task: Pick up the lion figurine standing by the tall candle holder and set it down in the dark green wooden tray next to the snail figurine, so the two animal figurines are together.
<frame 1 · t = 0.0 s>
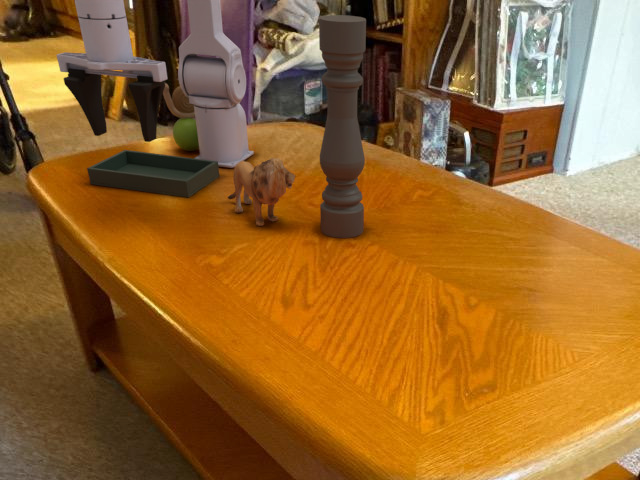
hand: (125, 137, 93), 10 cm above the table, tool pointing down, fingers open, 7 cm apart
tray: (156, 180, 111), on the table
snail figurine: (188, 152, 124), on the table
candle holder: (342, 231, 98), on the table
lion figurine: (260, 217, 101), on the table
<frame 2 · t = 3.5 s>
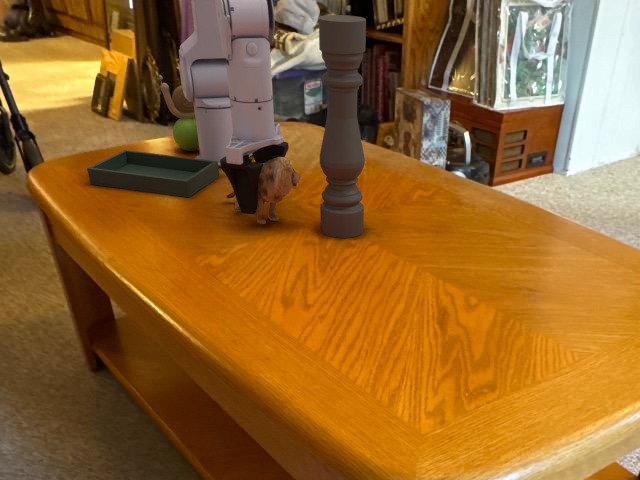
hand: (259, 204, 99), 2 cm above the table, tool pointing down
lion figurine: (260, 216, 100), on the table, touching gripper
everything else where it was.
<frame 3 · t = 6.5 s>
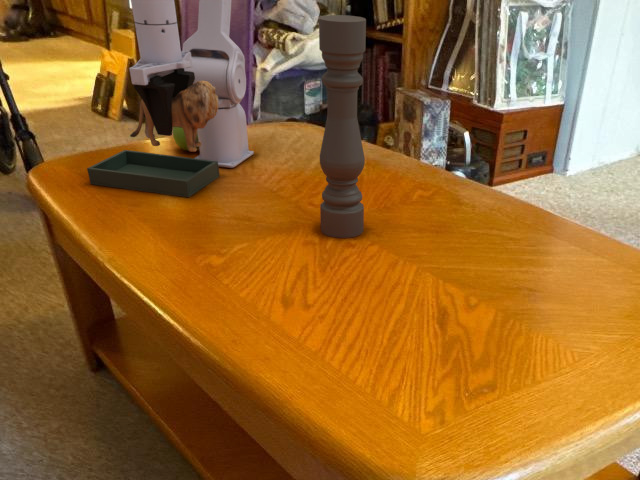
hand: (172, 130, 103), 8 cm above the table, tool pointing down, fingers closed on lion figurine, 4 cm apart
lion figurine: (180, 146, 104), point 6 cm above the table, touching gripper
everything else where it was.
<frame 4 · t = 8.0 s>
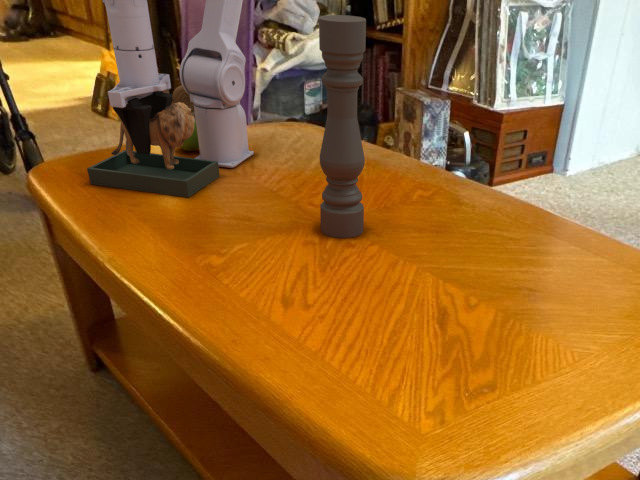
hand: (151, 149, 108), 5 cm above the table, tool pointing down, fingers closed on lion figurine, 4 cm apart
lion figurine: (159, 163, 109), point 3 cm above the table, touching gripper
everything else where it was.
when the fingers open (2 cm above the table, at t = 9.1 s): lion figurine stays where it is, resting on tray.
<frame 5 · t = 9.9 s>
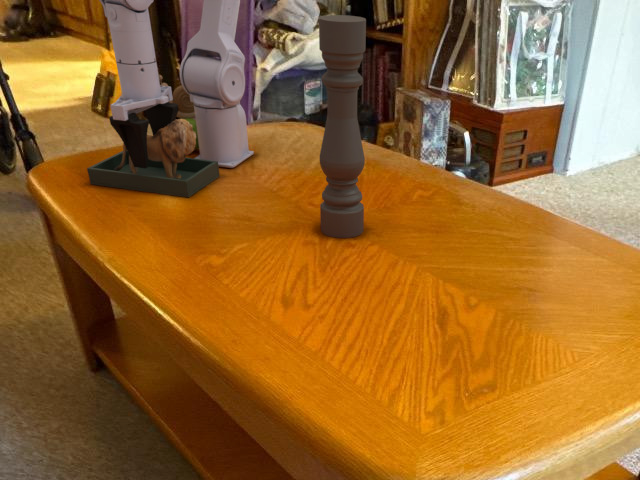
hand: (153, 160, 109), 3 cm above the table, tool pointing down, fingers open, 7 cm apart
lion figurine: (161, 179, 111), resting on tray
everything else where it was.
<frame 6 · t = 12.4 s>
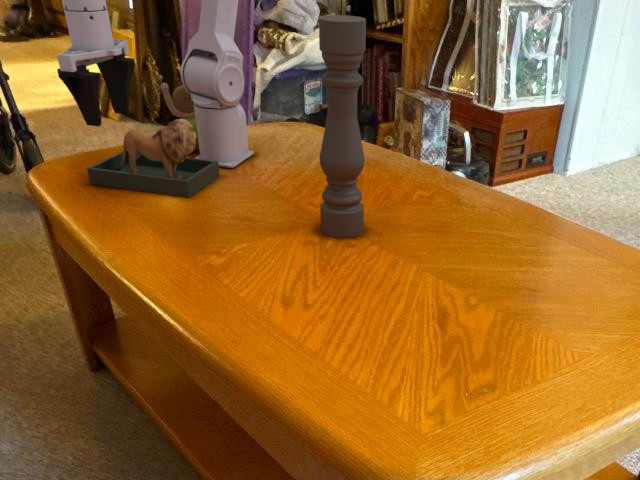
hand: (108, 119, 102), 9 cm above the table, tool pointing down, fingers open, 7 cm apart
nothing on the table moved.
at the end: lion figurine inside the target area in the tray (0.9 cm from its centre), point 0.2 cm above the tray's base; lion figurine tilted 0°; lion figurine 17.2 cm from the snail figurine (horizontally) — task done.
